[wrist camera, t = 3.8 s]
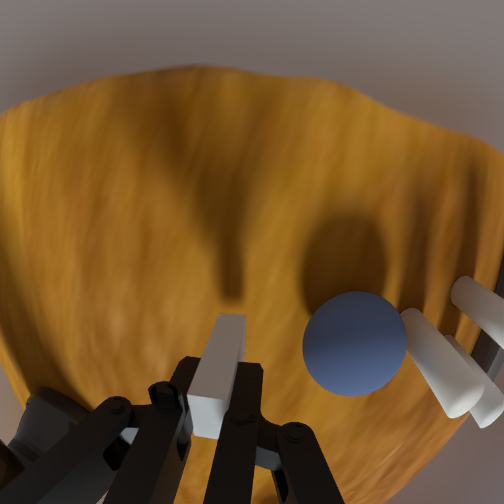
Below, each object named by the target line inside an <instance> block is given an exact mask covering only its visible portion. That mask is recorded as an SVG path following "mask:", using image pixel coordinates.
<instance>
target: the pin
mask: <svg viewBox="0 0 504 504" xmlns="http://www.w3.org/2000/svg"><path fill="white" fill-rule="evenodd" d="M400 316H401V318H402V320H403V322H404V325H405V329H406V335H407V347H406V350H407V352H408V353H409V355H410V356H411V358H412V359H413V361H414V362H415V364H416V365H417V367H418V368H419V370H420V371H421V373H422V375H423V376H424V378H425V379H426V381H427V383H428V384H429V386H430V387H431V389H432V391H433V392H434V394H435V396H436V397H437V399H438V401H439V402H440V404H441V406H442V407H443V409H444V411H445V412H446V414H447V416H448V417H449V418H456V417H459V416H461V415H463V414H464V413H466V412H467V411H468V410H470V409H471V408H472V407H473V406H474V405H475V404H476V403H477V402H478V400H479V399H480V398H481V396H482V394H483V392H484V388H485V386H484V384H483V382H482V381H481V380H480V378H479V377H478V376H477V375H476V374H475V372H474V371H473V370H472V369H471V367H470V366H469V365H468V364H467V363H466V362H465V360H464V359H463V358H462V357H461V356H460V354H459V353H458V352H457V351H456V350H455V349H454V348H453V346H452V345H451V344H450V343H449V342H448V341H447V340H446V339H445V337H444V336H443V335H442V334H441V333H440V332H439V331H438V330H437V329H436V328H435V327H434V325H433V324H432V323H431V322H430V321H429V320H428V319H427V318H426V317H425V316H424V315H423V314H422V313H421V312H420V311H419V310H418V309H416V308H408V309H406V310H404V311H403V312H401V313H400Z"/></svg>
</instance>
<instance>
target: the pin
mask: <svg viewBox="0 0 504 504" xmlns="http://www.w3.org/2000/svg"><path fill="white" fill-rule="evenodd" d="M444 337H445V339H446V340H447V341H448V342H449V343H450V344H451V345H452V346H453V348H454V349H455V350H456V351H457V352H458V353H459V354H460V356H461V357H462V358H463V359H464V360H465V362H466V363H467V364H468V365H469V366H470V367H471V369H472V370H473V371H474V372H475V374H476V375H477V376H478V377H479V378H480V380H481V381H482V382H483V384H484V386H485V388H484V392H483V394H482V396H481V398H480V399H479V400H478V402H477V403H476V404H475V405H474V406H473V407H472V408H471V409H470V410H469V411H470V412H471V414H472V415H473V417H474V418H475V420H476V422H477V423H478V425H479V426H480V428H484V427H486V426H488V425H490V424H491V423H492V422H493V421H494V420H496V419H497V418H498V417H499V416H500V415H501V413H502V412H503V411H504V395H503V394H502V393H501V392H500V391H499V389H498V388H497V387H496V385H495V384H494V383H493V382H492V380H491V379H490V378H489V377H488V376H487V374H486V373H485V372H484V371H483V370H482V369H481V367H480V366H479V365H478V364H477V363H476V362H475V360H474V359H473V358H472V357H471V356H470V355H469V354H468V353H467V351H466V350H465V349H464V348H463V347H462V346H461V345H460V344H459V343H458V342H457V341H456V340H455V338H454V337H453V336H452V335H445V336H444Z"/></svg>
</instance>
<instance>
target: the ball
mask: <svg viewBox="0 0 504 504" xmlns="http://www.w3.org/2000/svg"><path fill="white" fill-rule="evenodd" d="M406 347H407V335H406V329H405V325H404V322H403V320H402V318H401V316H400V314H399V312H398V311H397V310H396V308H395V307H394V306H393V305H392V304H391V303H390V302H388V301H387V300H386V299H384V298H382V297H380V296H378V295H376V294H373V293H370V292H364V291H352V292H347V293H343V294H340V295H337V296H335V297H333V298H331V299H330V300H328V301H326V302H325V303H324V304H323V305H321V306H320V307H319V308H318V309H317V311H316V312H315V313H314V314H313V316H312V317H311V319H310V320H309V322H308V325H307V327H306V330H305V333H304V337H303V357H304V361H305V364H306V367H307V369H308V371H309V373H310V374H311V376H312V377H313V379H314V380H315V381H316V382H317V383H318V384H319V385H321V386H322V387H323V388H325V389H326V390H328V391H330V392H332V393H335V394H338V395H343V396H360V395H365V394H368V393H371V392H373V391H375V390H377V389H379V388H381V387H382V386H384V385H385V384H386V383H387V382H389V381H390V380H391V379H392V377H393V376H394V375H395V374H396V372H397V371H398V370H399V368H400V366H401V364H402V362H403V359H404V356H405V352H406Z"/></svg>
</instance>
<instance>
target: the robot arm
mask: <svg viewBox="0 0 504 504" xmlns="http://www.w3.org/2000/svg"><path fill="white" fill-rule="evenodd" d="M245 340H246V315H239V314H227V313H219V315H218V318H217V320H216V323H215V325H214V328H213V330H212V333H211V335H210V338H209V340H208V343H207V345H206V348H205V350H204V353H203V355H202V358H197V357H189V356H186V357H185V358H183V359H182V360H181V361H180V362H179V363H178V365H177V367H176V370H175V371H174V373H173V376H172V377H171V379H170V382H168V381H162V382H157V383H155V384H153V385H151V386H150V387H149V388H148V392H149V395H150V399H151V402H152V404H149V405H131V403H130V401H129V400H128V399H126V398H124V397H121V396H114V397H110V398H108V399H106V400H105V401H104V402H102V403H101V404H100V405H99V406H98V407H97V408H96V409H95V410H93V411H92V412H91V413H89V412H87V411H86V410H85V409H83V408H82V407H81V406H79V405H78V404H76V403H75V402H73V401H72V400H70V399H69V398H67V397H65V396H64V395H62V394H60V393H58V392H56V391H54V390H51V389H48V388H38V389H36V390H35V391H34V392H33V393H32V395H31V396H30V397H29V398H28V400H27V402H26V410H25V412H24V414H23V416H22V418H21V421H20V423H19V427H18V430H17V433H16V435H15V436H14V438H13V439H12V440H11V442H10V443H9V444H8V446H6V445H5V444H4V443H3V441H2V440H1V439H0V504H96V503H97V502H98V501H99V500H100V499H101V498H102V496H103V495H104V494H105V493H106V492H107V491H108V490H109V491H108V493H107V495H106V497H105V499H104V501H103V503H102V504H173V503H174V499H175V496H176V493H177V490H178V486H179V483H180V480H181V477H182V473H183V470H184V467H185V464H186V460H187V457H188V454H189V451H190V447H191V438H190V437H191V434H192V431H193V432H194V435H195V436H200V437H206V438H213V439H218V442H217V447H216V451H215V455H214V459H213V464H212V468H211V472H210V476H209V480H208V485H207V489H206V493H205V497H204V501H203V504H251V495H252V486H253V478H254V468H255V465H257V466H260V467H263V468H266V469H269V470H271V473H272V477H273V480H274V484H275V488H276V491H277V495H278V498H279V502H280V504H345V503H344V501H343V498H342V496H341V494H340V492H339V489H338V487H337V485H336V483H335V480H334V478H333V476H332V474H331V471H330V469H329V467H328V464H327V462H326V460H325V458H324V455H323V453H322V451H321V448H320V446H319V444H318V441H317V439H316V437H315V434H314V432H313V431H312V429H311V428H310V427H309V426H307V425H306V424H303V423H300V422H290V423H287V424H284V425H283V426H280V425H276V424H273V423H271V422H269V421H267V420H266V419H265V418H264V417H263V416H262V414H261V410H260V407H261V395H262V383H263V369H262V367H261V365H260V363H248V362H244V357H245Z"/></svg>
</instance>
